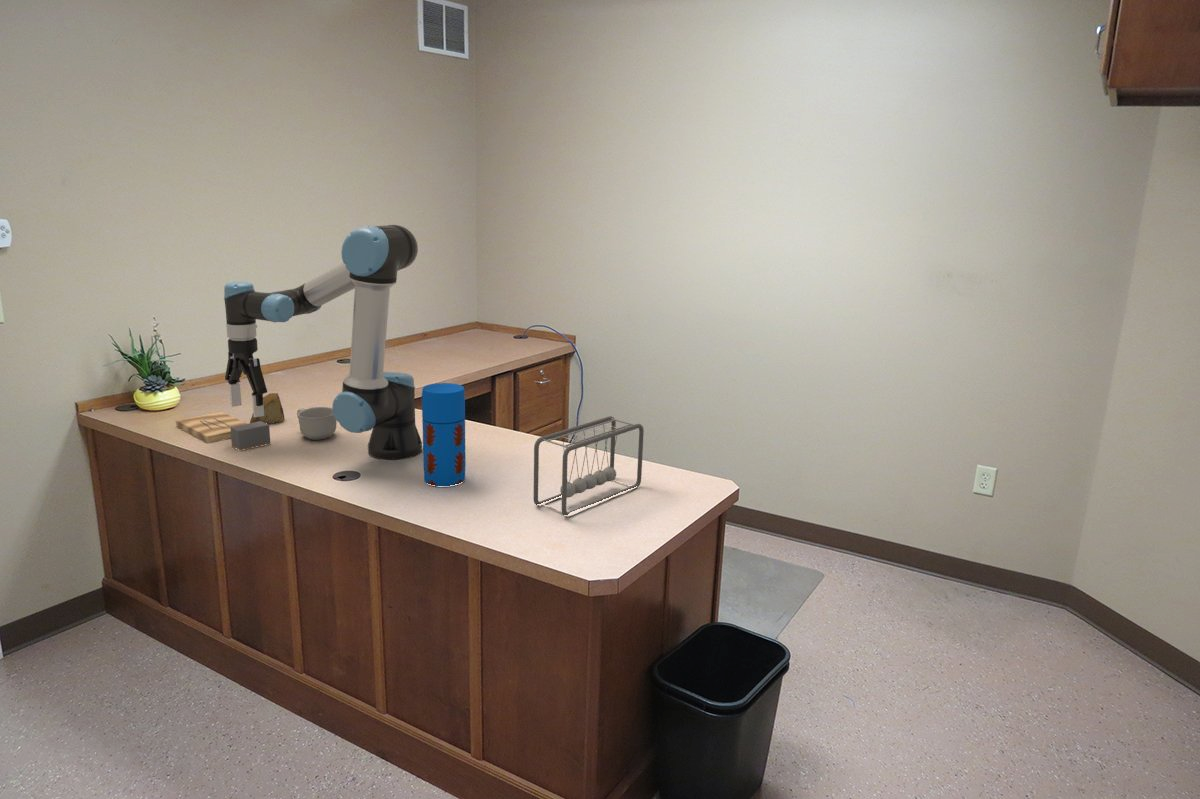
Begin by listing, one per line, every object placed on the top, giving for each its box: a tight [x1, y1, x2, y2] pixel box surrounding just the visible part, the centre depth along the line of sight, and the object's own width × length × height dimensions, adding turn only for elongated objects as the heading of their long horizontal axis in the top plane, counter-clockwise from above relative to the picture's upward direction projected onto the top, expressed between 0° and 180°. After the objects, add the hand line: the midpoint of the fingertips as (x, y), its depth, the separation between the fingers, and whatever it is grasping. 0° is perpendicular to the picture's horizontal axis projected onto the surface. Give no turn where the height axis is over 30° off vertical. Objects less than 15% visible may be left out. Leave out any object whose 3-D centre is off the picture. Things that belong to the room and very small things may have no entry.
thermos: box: [421, 382, 467, 486], centre depth 212 cm, size 11×11×25 cm
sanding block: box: [230, 421, 271, 451], centre depth 236 cm, size 5×9×6 cm, turn 138°
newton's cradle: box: [533, 415, 645, 516], centre depth 205 cm, size 30×10×18 cm, turn 139°
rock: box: [249, 392, 285, 424], centre depth 258 cm, size 11×9×10 cm
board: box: [175, 411, 248, 444], centre depth 249 cm, size 22×14×2 cm, turn 48°
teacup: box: [296, 406, 337, 441], centre depth 246 cm, size 14×11×8 cm
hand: (247, 411), depth 234 cm, fingers open, 13 cm apart
